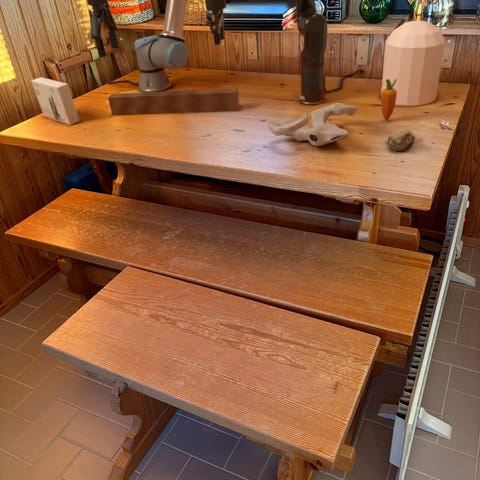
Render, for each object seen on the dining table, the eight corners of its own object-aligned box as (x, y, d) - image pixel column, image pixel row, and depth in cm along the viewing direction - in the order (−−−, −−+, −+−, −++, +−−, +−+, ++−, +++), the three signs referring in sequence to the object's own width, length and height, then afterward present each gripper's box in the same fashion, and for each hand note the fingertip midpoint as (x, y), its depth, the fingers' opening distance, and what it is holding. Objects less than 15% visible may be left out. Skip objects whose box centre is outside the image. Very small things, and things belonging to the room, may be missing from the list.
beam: (112, 115, 196) (107, 97, 192) (116, 111, 200) (112, 93, 196) (238, 110, 188) (236, 92, 183) (239, 106, 192) (238, 88, 187)
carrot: (394, 118, 167) (398, 76, 158) (393, 123, 163) (397, 80, 154) (379, 117, 168) (383, 75, 160) (378, 122, 165) (382, 80, 156)
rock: (408, 140, 153) (379, 139, 152) (414, 122, 149) (384, 120, 148) (421, 154, 144) (391, 153, 143) (428, 135, 140) (396, 133, 139)
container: (406, 109, 173) (416, 29, 157) (369, 95, 189) (375, 21, 173) (448, 97, 179) (462, 19, 163) (409, 85, 195) (418, 12, 180)
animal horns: (266, 154, 150) (264, 118, 144) (276, 126, 172) (275, 94, 165) (355, 154, 144) (357, 117, 138) (355, 125, 166) (356, 92, 159)
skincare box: (42, 117, 201) (30, 80, 192) (53, 113, 205) (42, 76, 196) (69, 125, 189) (57, 86, 180) (80, 121, 193) (69, 82, 184)
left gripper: (91, -4, 161) (106, 59, 173) (116, -13, 181) (128, 44, 193) (71, -2, 162) (87, 60, 174) (98, -12, 182) (111, 45, 194)
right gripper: (221, -4, 160) (226, 46, 169) (228, -10, 172) (232, 37, 181) (200, -2, 161) (206, 47, 171) (208, -8, 173) (213, 38, 182)
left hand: (109, 52), depth 184 cm, fingers open, 13 cm apart
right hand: (219, 42), depth 176 cm, fingers open, 8 cm apart
